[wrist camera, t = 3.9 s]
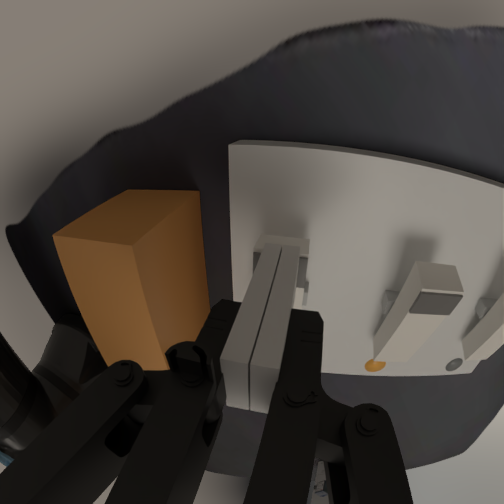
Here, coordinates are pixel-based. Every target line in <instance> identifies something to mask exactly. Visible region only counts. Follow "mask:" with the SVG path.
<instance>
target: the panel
mask: <svg viewBox="0 0 504 504" xmlns="http://www.w3.org/2000/svg"><path fill="white" fill-rule="evenodd" d="M228 147H229V194H230V228H231V256H232V280H233V301H236V302H242V301H243V299H244V296H245V294H246V291H247V289H248V286H249V283H250V281H251V278H252V276H253V252H254V247H255V245H256V243H257V241H258V239H259V237H260V235H261V234H265V235H274V236H284V237H294V238H303V239H310V243H309V256H308V264H307V272H306V280H305V288H304V294H303V301H302V308H301V310H309V311H318V312H319V313H320V315H321V317H322V319H323V321H324V330H323V351H322V367H321V372H325V373H337V374H352V375H373V376H431V375H450V374H464V373H471V372H472V371H473V370H474V369H475V367H476V366H477V365H478V363H479V362H480V360H469V361H465V359H464V352H463V346H462V340H463V339H464V338H465V337H466V336H467V335H468V334H469V333H470V332H471V331H472V330H473V328H474V327H475V326H476V325H477V324H478V323H479V322H480V321H481V320H482V318H483V317H484V316H485V315H486V314H487V313H488V311H489V310H490V309H491V308H492V307H493V305H494V304H495V303H496V302H497V300H498V299H499V298H500V296H501V295H502V294H503V293H504V184H503V183H500V182H497V181H494V180H491V179H488V178H485V177H482V176H479V175H475V174H472V173H469V172H465V171H462V170H458V169H455V168H451V167H447V166H443V165H439V164H435V163H431V162H427V161H422V160H418V159H413V158H408V157H403V156H398V155H393V154H387V153H381V152H375V151H369V150H363V149H356V148H348V147H340V146H332V145H323V144H312V143H300V142H286V141H267V140H239V141H236V142H234V143H231V144H229V145H228ZM416 261H422V262H430V263H438V264H446V265H454V266H456V269H457V272H458V275H459V278H460V281H461V284H462V287H463V290H464V293H463V298H462V299H461V301H460V302H459V303H458V305H457V306H456V307H455V309H454V310H453V311H452V313H451V314H450V315H447V316H446V317H445V319H444V320H443V321H442V322H441V324H440V325H439V326H438V327H437V328H436V330H435V331H434V332H433V333H432V334H431V336H430V337H429V338H428V339H427V340H426V341H425V342H424V344H423V345H422V346H421V347H420V348H419V349H418V350H417V351H416V352H415V353H414V355H413V356H412V357H411V358H410V359H409V360H408V361H407V362H382V361H373V338H374V336H375V335H376V333H377V332H378V330H379V328H380V327H381V325H382V323H383V322H384V320H385V318H386V317H387V315H388V313H389V311H390V310H391V308H392V306H393V304H394V303H395V301H396V299H397V297H398V295H399V293H400V291H401V290H402V288H403V286H404V284H405V282H406V280H407V278H408V276H409V274H410V272H411V270H412V268H413V266H414V264H415V262H416Z"/></svg>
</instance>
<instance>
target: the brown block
mask: <svg viewBox="0 0 504 504" xmlns="http://www.w3.org/2000/svg"><path fill="white" fill-rule="evenodd" d="M52 236H53V239H54V243H55V246H56V249H57V252H58V255H59V258H60V261H61V264H62V267H63V270H64V273H65V275H66V278H67V281H68V283H69V286H70V288H71V291H72V293H73V296H74V298H75V301H76V303H77V305H78V308H79V310H80V312H81V314H82V317H83V319H84V321H85V323H86V325H87V327H88V329H89V332H90V334H91V336H92V338H93V340H94V342H95V343H96V345H97V347H98V349H99V351H100V353H101V355H102V357H103V358H104V360H105V362H106V364H107V366H108V367H109V366H110V365H112V364H113V363H115V362H117V361H120V360H132V361H134V362H137V363H138V364H139V365H140V366H141V367H142V369H143V370H169V369H170V367H169V365H168V362H167V359H166V356H165V354H164V353H165V352H166V351H167V350H168V349H169V348H170V347H171V346H173V345H175V344H177V343H179V342H184V341H194V342H195V340H196V338H197V336H198V334H199V332H200V331H201V329H202V327H203V325H204V323H205V321H206V319H207V317H208V315H209V313H210V303H209V294H208V285H207V275H206V265H205V255H204V244H203V232H202V220H201V206H200V192H199V191H187V190H126V191H124V192H122V193H120V194H118V195H117V196H115V197H113V198H111V199H109V200H108V201H106V202H104V203H103V204H101V205H99V206H97V207H96V208H94V209H92V210H91V211H89V212H87V213H86V214H84V215H83V216H81V217H79V218H78V219H76V220H75V221H73V222H71V223H70V224H68V225H67V226H65V227H64V228H62V229H61V230H59V231H58V232H56V233H55V234H53V235H52Z"/></svg>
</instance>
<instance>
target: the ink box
mask: <svg viewBox="0 0 504 504" xmlns="http://www.w3.org/2000/svg"><path fill="white" fill-rule="evenodd" d="M311 504H329V498H328V491H327V483H326V476H325V469H324V462H323V461H320V462H318V468H317V474H316V480H315V485H314V490H313V495H312V500H311Z"/></svg>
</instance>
